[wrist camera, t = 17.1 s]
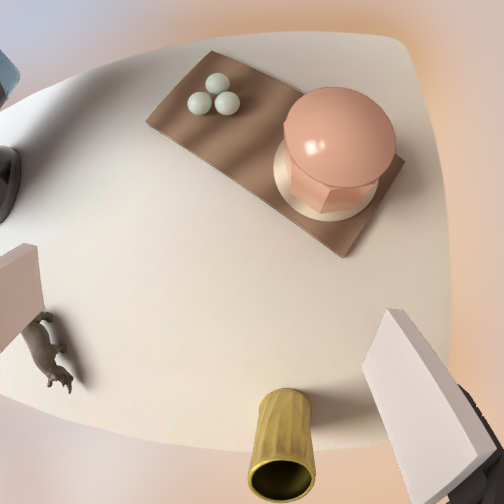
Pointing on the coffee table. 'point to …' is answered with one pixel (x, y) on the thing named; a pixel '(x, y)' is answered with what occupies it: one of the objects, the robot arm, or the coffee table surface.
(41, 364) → the rhino figurine
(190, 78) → the board
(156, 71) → the coffee table surface
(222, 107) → the marble
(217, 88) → the marble
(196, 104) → the marble
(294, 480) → the vase
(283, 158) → the coaster
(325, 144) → the domed lid canister
